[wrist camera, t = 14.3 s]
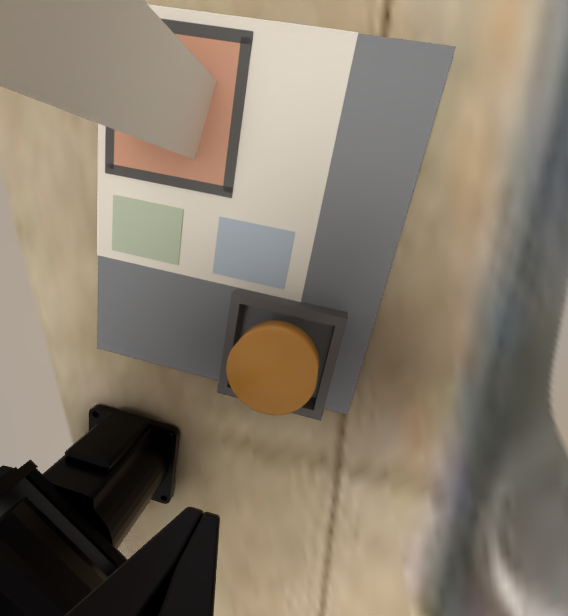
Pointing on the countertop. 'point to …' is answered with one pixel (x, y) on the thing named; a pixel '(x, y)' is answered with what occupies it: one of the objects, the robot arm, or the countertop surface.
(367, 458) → the countertop surface
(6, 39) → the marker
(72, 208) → the countertop surface
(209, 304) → the grey flat board
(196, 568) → the robot arm
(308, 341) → the button
